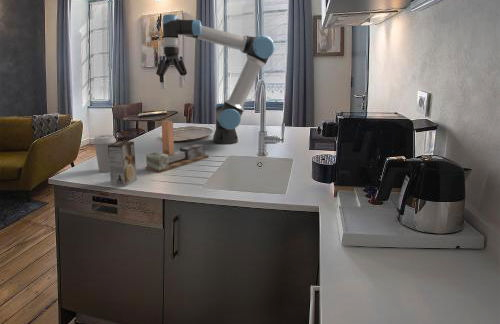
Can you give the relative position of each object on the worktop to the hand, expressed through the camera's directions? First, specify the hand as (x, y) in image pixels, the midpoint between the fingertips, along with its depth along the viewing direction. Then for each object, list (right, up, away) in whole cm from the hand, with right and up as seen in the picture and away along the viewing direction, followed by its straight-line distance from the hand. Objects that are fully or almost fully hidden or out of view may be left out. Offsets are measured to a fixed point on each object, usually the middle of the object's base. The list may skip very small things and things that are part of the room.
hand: (172, 88), depth 200 cm
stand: (+7, -40, -21) cm, 46 cm away
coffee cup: (-22, -43, -35) cm, 59 cm away
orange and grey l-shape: (+6, -38, -25) cm, 46 cm away
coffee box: (-9, -48, -50) cm, 70 cm away
